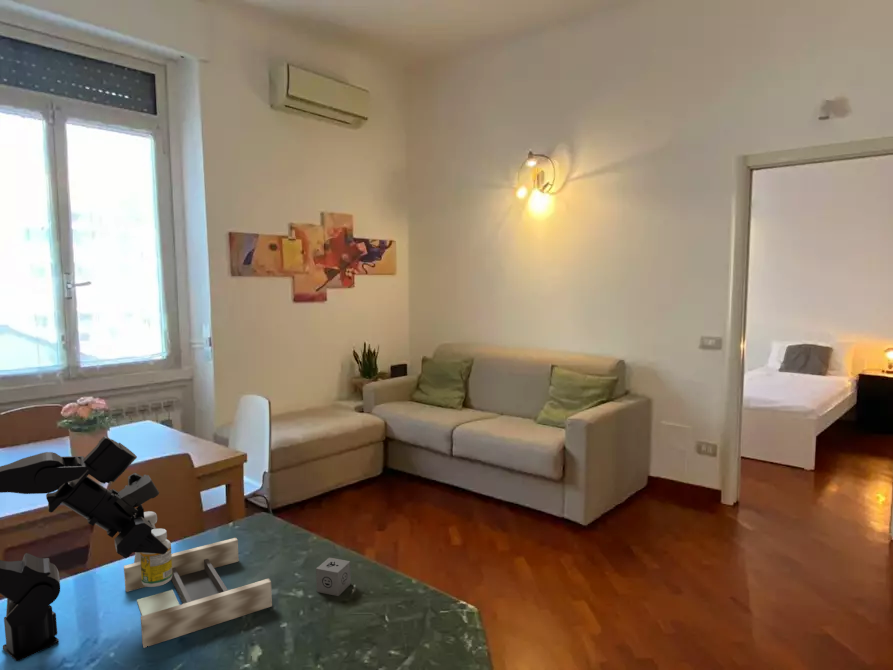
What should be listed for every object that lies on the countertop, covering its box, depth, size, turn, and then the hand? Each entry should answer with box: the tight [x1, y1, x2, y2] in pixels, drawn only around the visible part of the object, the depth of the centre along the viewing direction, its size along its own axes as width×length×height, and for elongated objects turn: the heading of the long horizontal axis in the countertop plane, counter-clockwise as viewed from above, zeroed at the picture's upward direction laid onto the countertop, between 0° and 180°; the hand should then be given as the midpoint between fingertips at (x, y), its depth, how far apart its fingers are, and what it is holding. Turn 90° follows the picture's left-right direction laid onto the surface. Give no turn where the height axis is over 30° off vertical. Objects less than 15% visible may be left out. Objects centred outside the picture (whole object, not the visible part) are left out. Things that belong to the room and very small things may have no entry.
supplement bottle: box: [140, 528, 172, 588], centre depth 115 cm, size 5×5×10 cm
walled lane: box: [123, 537, 273, 649], centre depth 120 cm, size 22×24×5 cm
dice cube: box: [315, 557, 352, 597], centre depth 123 cm, size 5×5×5 cm
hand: (163, 545), depth 116 cm, fingers closed on supplement bottle, 5 cm apart
